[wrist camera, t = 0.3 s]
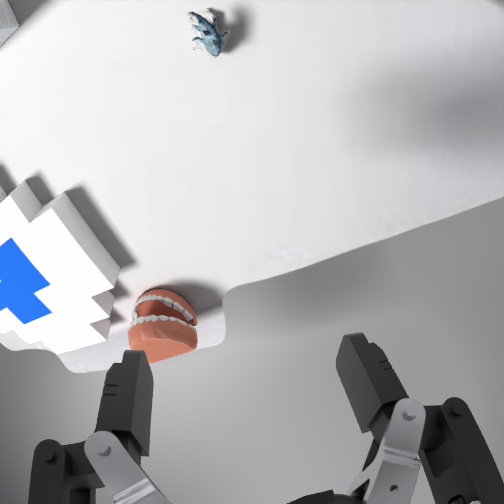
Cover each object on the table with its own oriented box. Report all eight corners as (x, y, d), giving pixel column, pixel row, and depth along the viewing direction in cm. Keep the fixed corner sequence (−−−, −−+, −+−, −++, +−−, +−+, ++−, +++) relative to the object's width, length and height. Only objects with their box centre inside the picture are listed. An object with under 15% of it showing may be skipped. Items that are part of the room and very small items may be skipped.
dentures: (170, 274, 37) (165, 324, 31) (199, 308, 41) (199, 356, 35) (119, 297, 38) (108, 344, 32) (149, 326, 43) (144, 372, 37)
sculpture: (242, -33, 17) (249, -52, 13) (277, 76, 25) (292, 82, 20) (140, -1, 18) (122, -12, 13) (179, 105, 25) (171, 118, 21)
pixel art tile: (33, 360, 41) (-73, 248, 24) (39, 343, 44) (-60, 233, 27) (150, 327, 37) (12, 145, 20) (153, 305, 41) (31, 132, 24)
